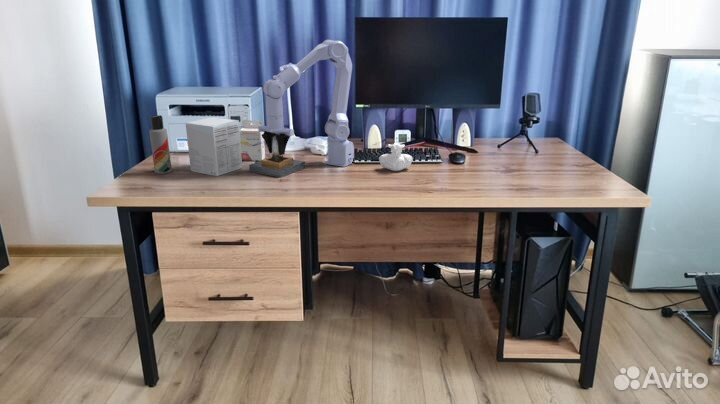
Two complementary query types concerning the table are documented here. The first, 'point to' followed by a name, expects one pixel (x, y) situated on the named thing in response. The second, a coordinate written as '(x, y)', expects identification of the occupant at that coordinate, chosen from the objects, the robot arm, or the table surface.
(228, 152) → the supplement box
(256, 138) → the ink cartridge box
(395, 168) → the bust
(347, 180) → the table surface
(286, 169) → the gray plate with frame
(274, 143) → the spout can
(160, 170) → the lotion bottle
